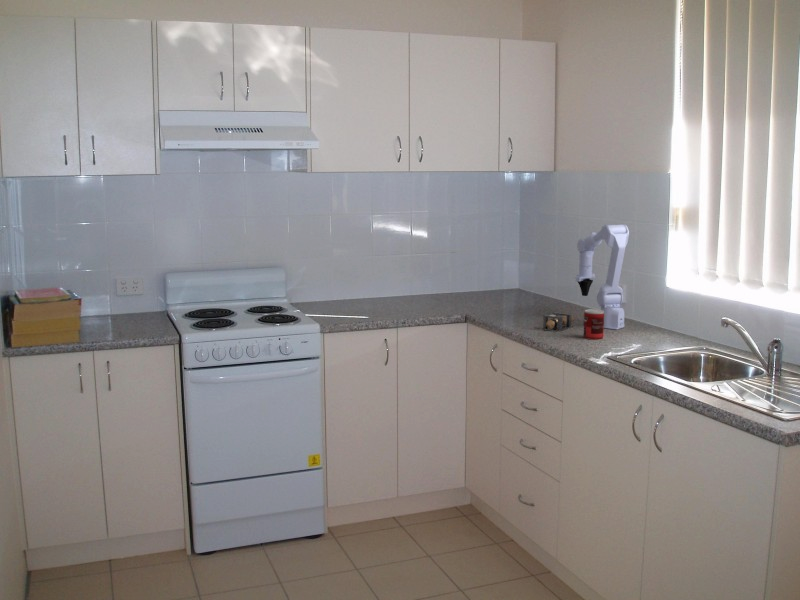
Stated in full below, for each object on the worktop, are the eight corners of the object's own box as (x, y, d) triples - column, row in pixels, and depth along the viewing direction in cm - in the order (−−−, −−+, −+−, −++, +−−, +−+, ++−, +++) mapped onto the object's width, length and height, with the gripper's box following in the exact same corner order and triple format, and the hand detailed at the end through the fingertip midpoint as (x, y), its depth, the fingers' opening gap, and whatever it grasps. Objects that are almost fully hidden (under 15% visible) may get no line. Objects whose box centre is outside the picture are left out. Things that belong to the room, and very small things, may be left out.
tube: (574, 323, 360) (574, 314, 359) (553, 329, 346) (553, 320, 345) (566, 322, 362) (566, 313, 361) (545, 328, 348) (545, 319, 348)
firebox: (572, 327, 354) (572, 312, 353) (558, 331, 345) (558, 316, 344) (556, 325, 359) (556, 310, 358) (541, 329, 350) (542, 314, 349)
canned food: (588, 334, 338) (589, 308, 336) (606, 337, 333) (607, 310, 331) (580, 338, 332) (580, 311, 331) (598, 340, 327) (599, 313, 326)
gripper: (585, 263, 379) (584, 292, 381) (569, 266, 368) (569, 296, 370) (599, 264, 374) (598, 294, 376) (584, 267, 363) (583, 298, 365)
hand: (584, 295), depth 373 cm, fingers closed
